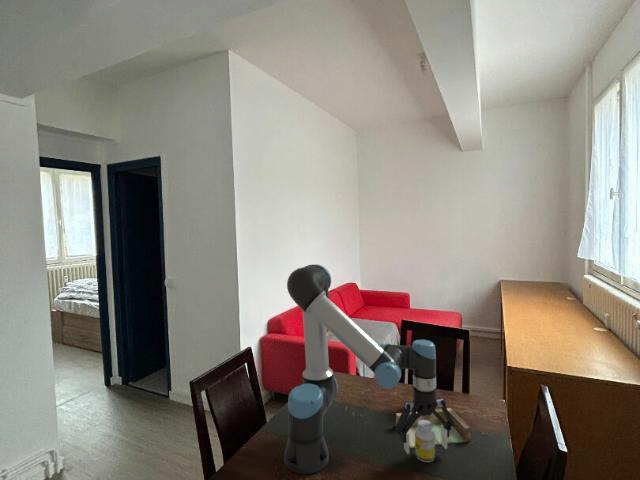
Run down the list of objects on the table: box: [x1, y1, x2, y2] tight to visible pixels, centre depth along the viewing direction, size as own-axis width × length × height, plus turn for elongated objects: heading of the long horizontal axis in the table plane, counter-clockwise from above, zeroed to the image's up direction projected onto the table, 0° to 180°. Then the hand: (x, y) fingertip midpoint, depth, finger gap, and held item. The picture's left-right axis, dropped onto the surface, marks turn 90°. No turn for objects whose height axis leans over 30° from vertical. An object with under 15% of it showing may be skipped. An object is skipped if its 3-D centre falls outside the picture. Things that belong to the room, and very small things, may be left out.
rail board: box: [395, 407, 472, 449], centre depth 129 cm, size 23×14×5 cm, turn 99°
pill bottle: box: [414, 420, 436, 463], centre depth 116 cm, size 6×6×12 cm
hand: (425, 448), depth 116 cm, fingers open, 13 cm apart
